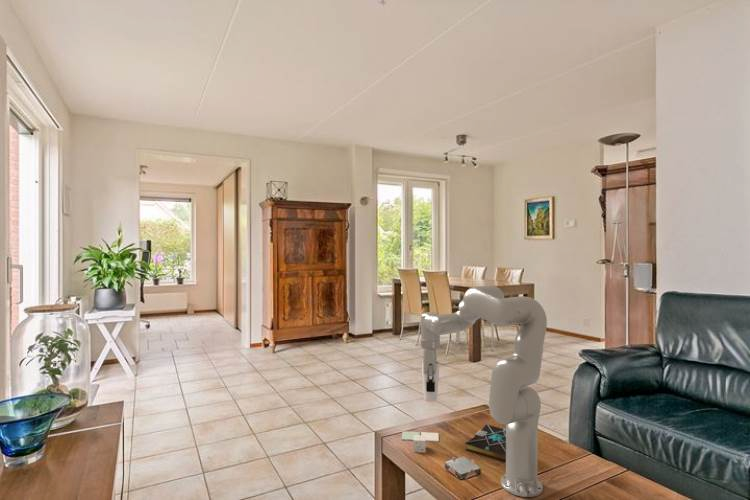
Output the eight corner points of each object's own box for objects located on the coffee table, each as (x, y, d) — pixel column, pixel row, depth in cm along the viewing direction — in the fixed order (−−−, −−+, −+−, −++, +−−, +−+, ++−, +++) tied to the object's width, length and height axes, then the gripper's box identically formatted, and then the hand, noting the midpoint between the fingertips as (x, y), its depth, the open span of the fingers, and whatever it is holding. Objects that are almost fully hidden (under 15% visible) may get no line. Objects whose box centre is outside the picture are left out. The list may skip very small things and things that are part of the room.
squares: (438, 441, 167) (438, 440, 167) (401, 439, 169) (401, 438, 169) (438, 433, 174) (438, 432, 174) (402, 432, 176) (402, 431, 176)
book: (509, 465, 150) (509, 451, 150) (464, 451, 160) (464, 438, 160) (527, 442, 168) (527, 429, 168) (486, 431, 178) (486, 419, 178)
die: (425, 453, 159) (425, 440, 159) (413, 452, 159) (413, 440, 159) (425, 447, 163) (425, 435, 163) (413, 446, 164) (413, 434, 164)
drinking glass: (420, 401, 169) (420, 363, 169) (423, 396, 175) (423, 359, 175) (437, 403, 167) (437, 365, 167) (440, 397, 173) (440, 360, 173)
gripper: (421, 338, 180) (421, 381, 180) (420, 348, 163) (420, 395, 163) (439, 339, 179) (439, 382, 179) (440, 349, 162) (440, 396, 162)
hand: (430, 388), depth 171 cm, fingers closed on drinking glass, 6 cm apart
